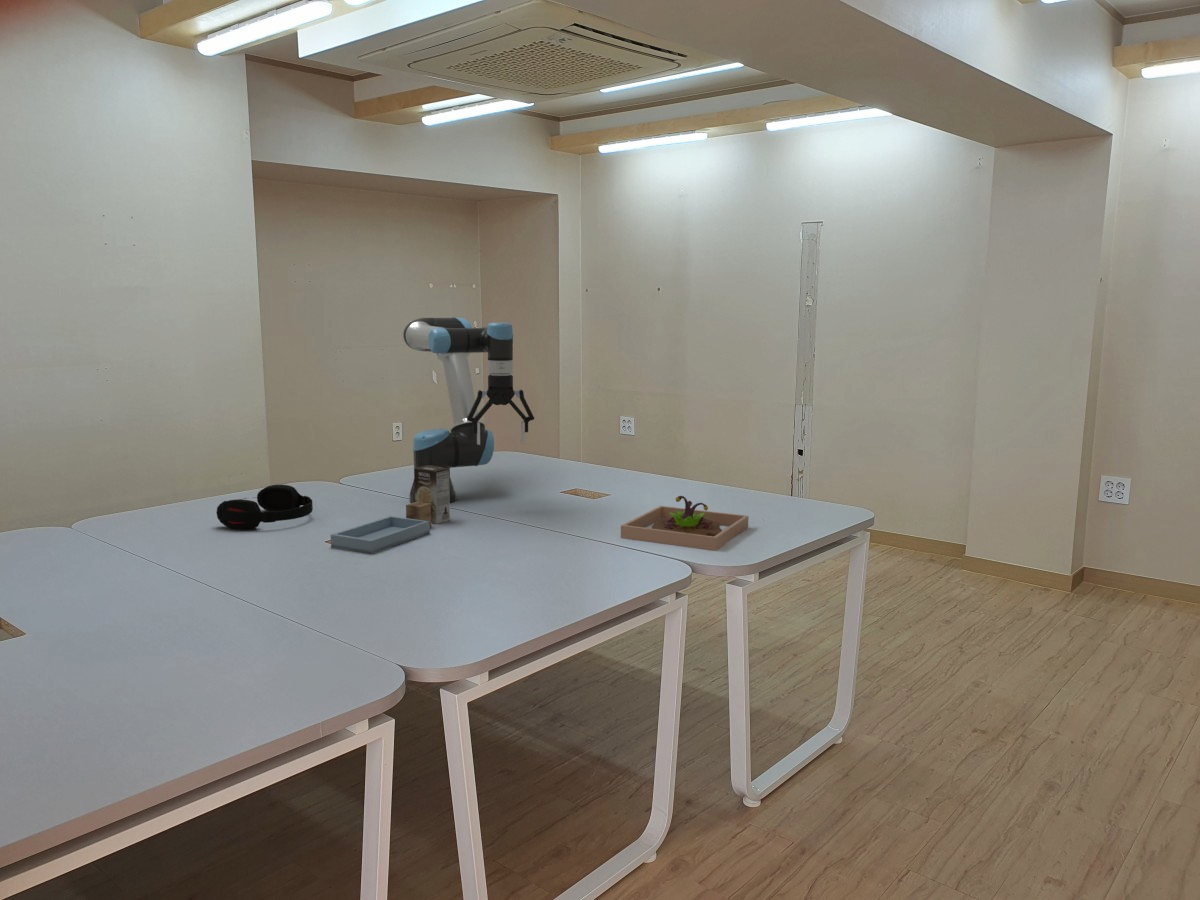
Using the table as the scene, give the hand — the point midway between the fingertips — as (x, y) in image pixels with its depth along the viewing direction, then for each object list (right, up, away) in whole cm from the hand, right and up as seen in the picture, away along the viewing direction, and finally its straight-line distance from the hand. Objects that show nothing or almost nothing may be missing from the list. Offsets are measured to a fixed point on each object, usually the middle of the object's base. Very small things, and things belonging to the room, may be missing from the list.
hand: (500, 443), depth 267 cm
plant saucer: (+55, -26, -18) cm, 63 cm away
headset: (-71, -23, -4) cm, 75 cm away
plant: (+55, -26, -18) cm, 64 cm away
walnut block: (-22, -25, -13) cm, 36 cm away
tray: (-30, -27, -27) cm, 48 cm away
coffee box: (-20, -23, -4) cm, 31 cm away
